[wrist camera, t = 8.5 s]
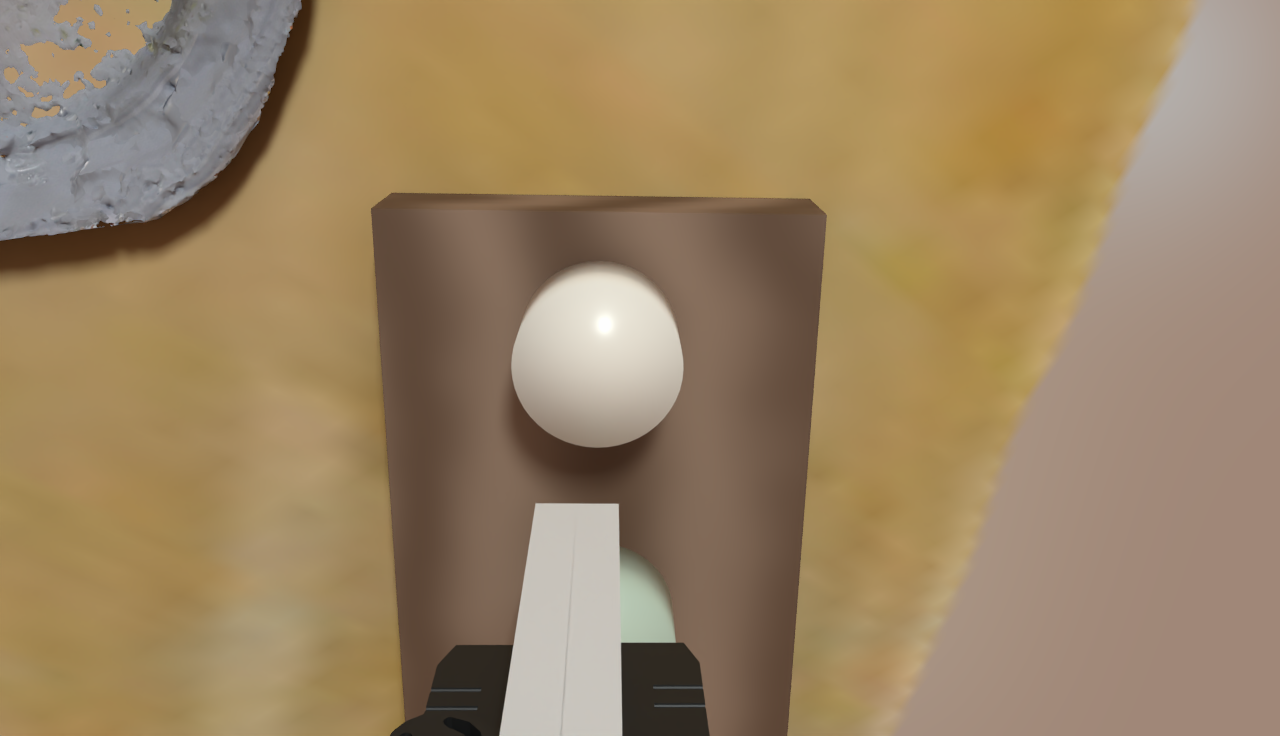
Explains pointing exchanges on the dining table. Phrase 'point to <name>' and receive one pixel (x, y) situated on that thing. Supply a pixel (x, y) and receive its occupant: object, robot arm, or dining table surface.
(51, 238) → the dining table surface
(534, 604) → the robot arm
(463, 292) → the button board
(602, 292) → the cream button
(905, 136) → the dining table surface
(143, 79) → the food plate
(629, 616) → the sage button
